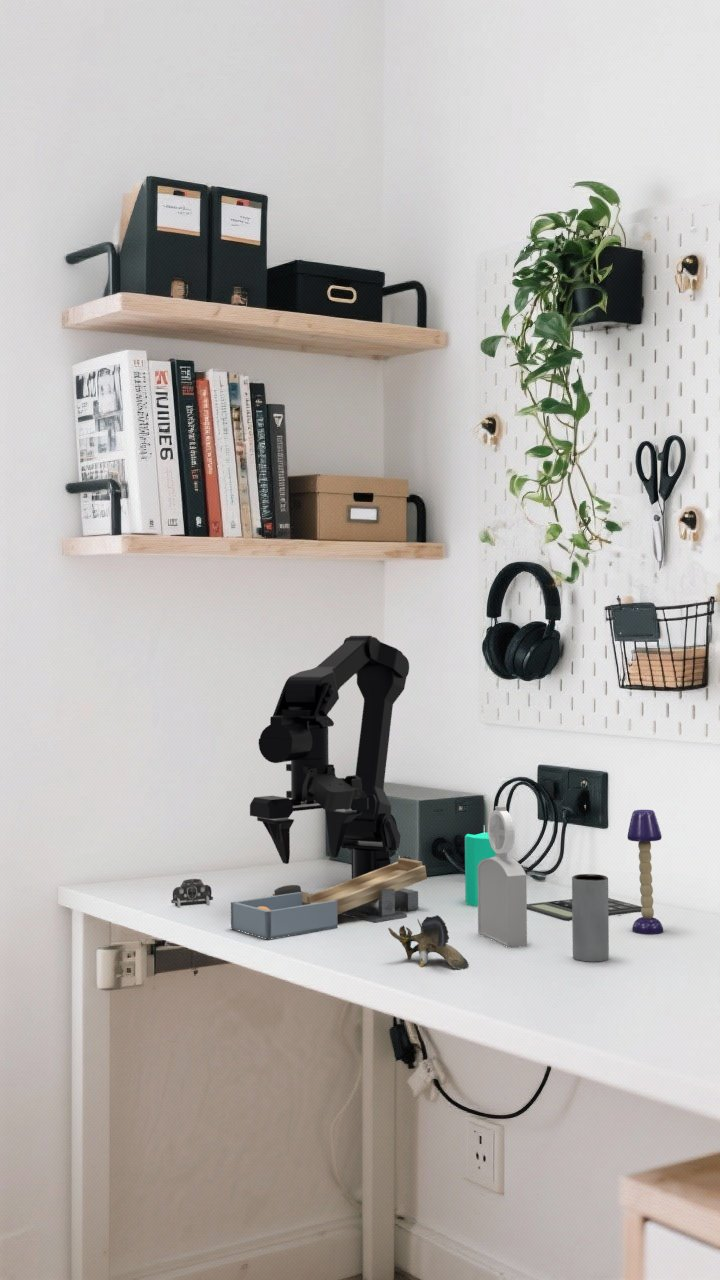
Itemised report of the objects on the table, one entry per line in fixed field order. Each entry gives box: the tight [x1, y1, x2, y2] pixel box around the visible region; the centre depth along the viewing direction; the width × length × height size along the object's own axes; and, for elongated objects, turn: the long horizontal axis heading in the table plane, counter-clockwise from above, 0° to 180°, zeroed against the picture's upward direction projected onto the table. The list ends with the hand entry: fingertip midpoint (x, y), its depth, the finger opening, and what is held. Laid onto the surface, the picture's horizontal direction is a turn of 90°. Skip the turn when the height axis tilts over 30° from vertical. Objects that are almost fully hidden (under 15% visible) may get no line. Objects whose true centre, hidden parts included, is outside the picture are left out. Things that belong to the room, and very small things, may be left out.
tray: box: [230, 891, 338, 940], centre depth 194 cm, size 9×12×4 cm
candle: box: [464, 824, 496, 907], centre depth 212 cm, size 6×6×12 cm
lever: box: [271, 857, 428, 915], centre depth 207 cm, size 18×15×3 cm
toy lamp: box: [627, 809, 664, 935], centre depth 191 cm, size 5×5×17 cm
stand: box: [339, 887, 419, 923], centre depth 205 cm, size 11×10×4 cm
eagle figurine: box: [387, 914, 470, 970], centre depth 173 cm, size 8×7×9 cm
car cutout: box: [170, 878, 214, 908], centre depth 214 cm, size 15×7×4 cm, turn 112°
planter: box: [571, 873, 610, 963], centre depth 175 cm, size 4×4×10 cm
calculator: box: [527, 897, 642, 922], centre depth 206 cm, size 12×1×15 cm
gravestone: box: [477, 805, 528, 948], centre depth 186 cm, size 3×9×18 cm, turn 20°
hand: (310, 860), depth 209 cm, fingers open, 9 cm apart
